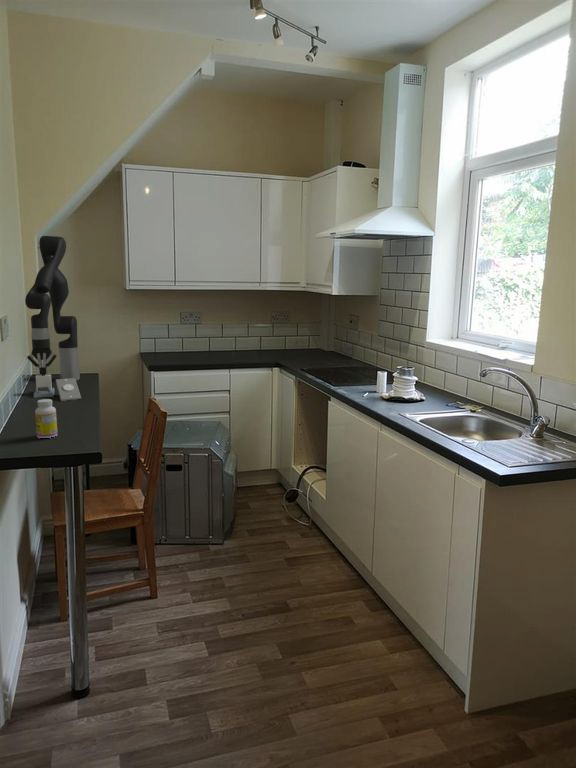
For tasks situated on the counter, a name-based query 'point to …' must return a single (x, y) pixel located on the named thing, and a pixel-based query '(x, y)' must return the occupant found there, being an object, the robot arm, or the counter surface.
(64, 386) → the light switch
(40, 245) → the robot arm
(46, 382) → the block
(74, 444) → the counter surface
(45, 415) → the supplement bottle
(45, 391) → the din rail
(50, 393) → the plate
